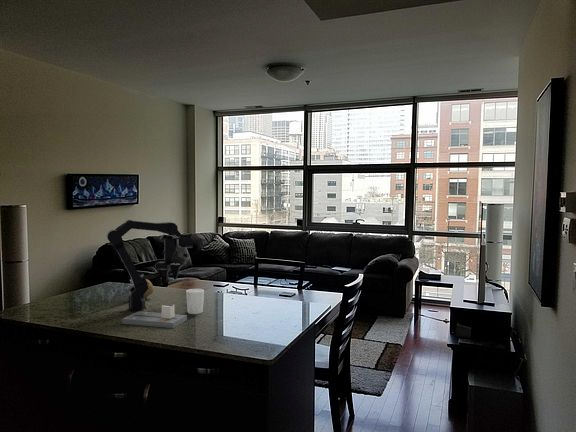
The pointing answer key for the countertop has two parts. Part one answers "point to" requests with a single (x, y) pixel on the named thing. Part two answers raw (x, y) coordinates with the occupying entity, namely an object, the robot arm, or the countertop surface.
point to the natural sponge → (149, 289)
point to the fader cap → (168, 311)
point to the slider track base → (154, 319)
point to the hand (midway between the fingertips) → (170, 281)
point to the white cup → (195, 300)
